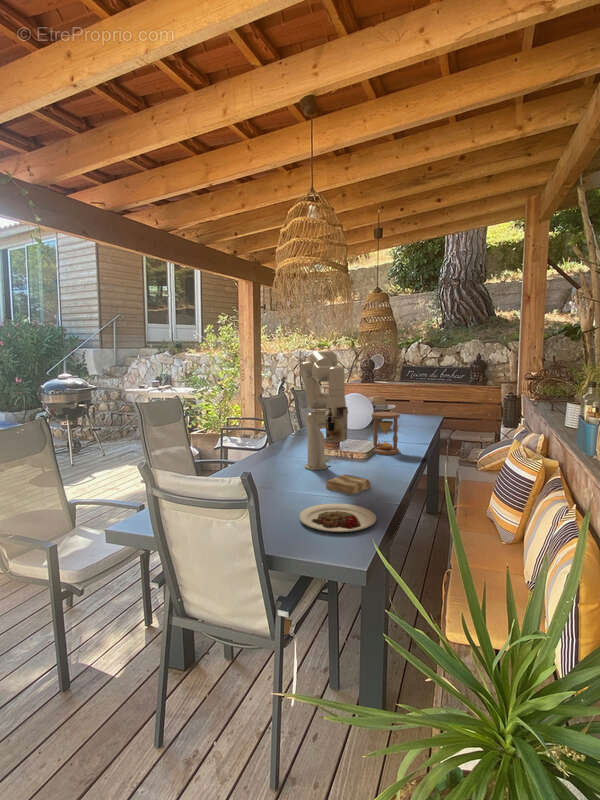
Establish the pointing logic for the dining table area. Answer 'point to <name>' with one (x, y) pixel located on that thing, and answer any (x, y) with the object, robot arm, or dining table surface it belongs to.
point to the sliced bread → (348, 484)
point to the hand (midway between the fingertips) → (336, 429)
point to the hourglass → (385, 425)
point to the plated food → (337, 517)
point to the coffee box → (338, 426)
